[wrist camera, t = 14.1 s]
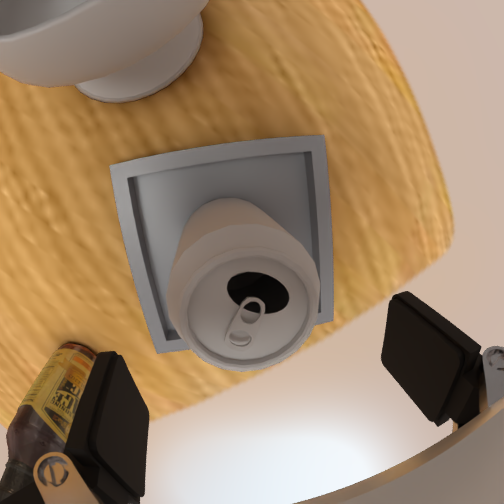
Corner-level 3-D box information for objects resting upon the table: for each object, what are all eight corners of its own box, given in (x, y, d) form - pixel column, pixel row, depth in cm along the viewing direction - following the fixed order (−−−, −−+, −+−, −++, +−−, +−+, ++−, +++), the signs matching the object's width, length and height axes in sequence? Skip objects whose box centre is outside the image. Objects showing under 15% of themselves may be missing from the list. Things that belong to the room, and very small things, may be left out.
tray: (118, 165, 21) (109, 165, 18) (312, 137, 23) (324, 134, 20) (159, 338, 26) (157, 353, 24) (323, 308, 28) (333, 320, 25)
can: (289, 219, 24) (362, 273, 12) (249, 297, 25) (284, 396, 14) (203, 180, 22) (203, 200, 10) (167, 266, 23) (141, 357, 12)
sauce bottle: (115, 382, 27) (82, 548, 8) (71, 385, 26) (22, 528, 7) (91, 333, 25) (18, 510, 6) (45, 339, 24) (-35, 484, 5)
